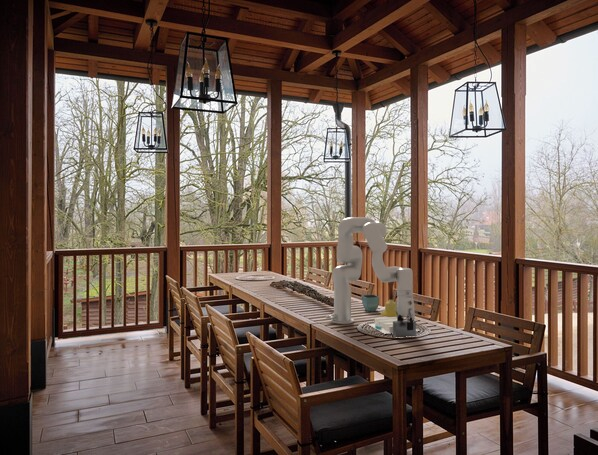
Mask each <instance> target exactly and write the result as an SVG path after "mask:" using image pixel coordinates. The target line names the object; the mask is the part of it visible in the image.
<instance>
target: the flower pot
mask: <svg viewBox="0 0 598 455" xmlns="http://www.w3.org/2000/svg"><path fill="white" fill-rule="evenodd" d="M380 298H381V297H380V296H378V295H376V294H362V295H361V302H362V303H361V304H362V306H363V308H364V310H366V311H367V312H375V311H377V310H378V308H379V306H380V305H379V304H380Z"/></svg>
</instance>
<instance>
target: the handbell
mask: <svg viewBox="0 0 598 455" xmlns="http://www.w3.org/2000/svg"><path fill="white" fill-rule="evenodd" d="M387 284H388V288H389V290H388V291H389V292H388V296H389V297H388V301H386V302H385V306H384V307H385V308H384V309H383V311H382V312H380V315H381V316H382V317H385V318H388V317H397V313H396V307H397V302H395V301H394V284H395V281H394V282H387Z"/></svg>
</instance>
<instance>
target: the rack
mask: <svg viewBox="0 0 598 455" xmlns="http://www.w3.org/2000/svg"><path fill="white" fill-rule="evenodd" d="M373 320H374V323H368V324H367V326H368V325H369V326H371V327H373V328H375V329H377V330H379V331H380V332H382V333H384V334H386V333H393V321H397V317H377V318H374V319H373ZM369 326H368V327H369ZM371 327H370V328H371ZM373 328H372V329H373ZM375 329H374V330H375ZM416 331H420V330H419V329H417V328H416ZM380 332H379V333H380Z"/></svg>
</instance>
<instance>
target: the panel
mask: <svg viewBox="0 0 598 455" xmlns="http://www.w3.org/2000/svg"><path fill="white" fill-rule="evenodd" d="M403 320H404V319H403ZM407 322H408V321H407V319H406V320H404V321H393V334H392V337H393V336H395V337H406V336H416V337H417V332H416V329H417V321H416V320H414V322H413V330H407Z"/></svg>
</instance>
